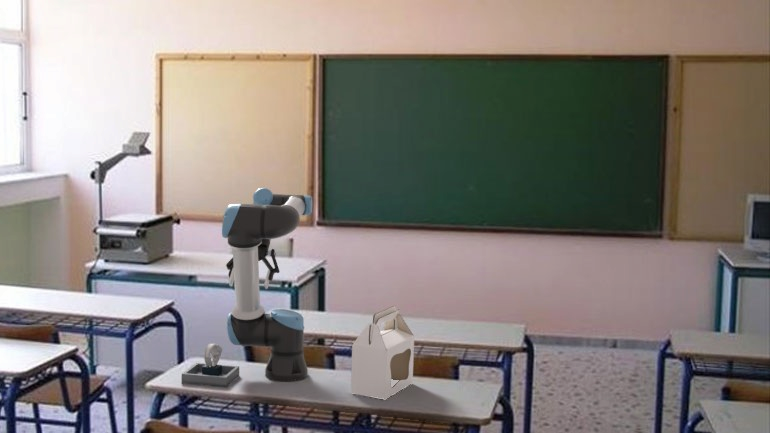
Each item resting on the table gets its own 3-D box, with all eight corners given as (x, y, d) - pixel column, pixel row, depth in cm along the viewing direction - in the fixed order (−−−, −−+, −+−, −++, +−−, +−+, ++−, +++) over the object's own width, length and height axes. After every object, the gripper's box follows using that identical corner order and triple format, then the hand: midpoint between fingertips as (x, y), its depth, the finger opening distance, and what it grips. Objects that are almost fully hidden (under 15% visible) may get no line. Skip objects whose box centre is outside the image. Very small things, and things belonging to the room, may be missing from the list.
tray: (239, 375, 335) (239, 366, 334) (225, 387, 321) (226, 377, 321) (196, 372, 338) (196, 362, 337) (181, 383, 324) (181, 373, 323)
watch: (224, 372, 335) (224, 342, 334) (214, 378, 328) (214, 347, 326) (209, 370, 337) (210, 340, 336) (199, 376, 329) (199, 345, 328)
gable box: (385, 401, 312) (387, 318, 309) (350, 394, 318) (352, 313, 315) (413, 383, 332) (415, 306, 329) (379, 377, 338) (382, 301, 334)
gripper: (294, 247, 359) (282, 293, 347) (231, 243, 364) (217, 289, 351) (290, 235, 354) (278, 282, 341) (227, 231, 358) (213, 277, 345)
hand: (247, 285), depth 346 cm, fingers open, 13 cm apart
